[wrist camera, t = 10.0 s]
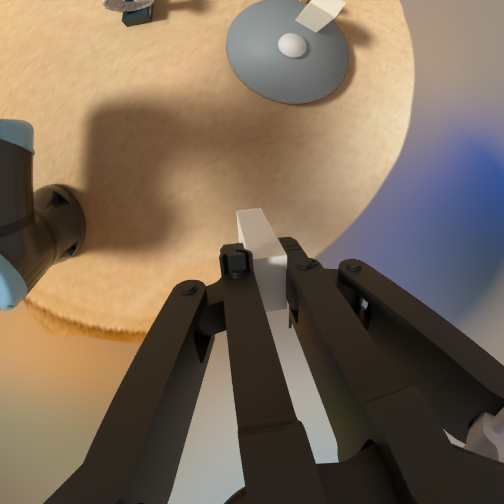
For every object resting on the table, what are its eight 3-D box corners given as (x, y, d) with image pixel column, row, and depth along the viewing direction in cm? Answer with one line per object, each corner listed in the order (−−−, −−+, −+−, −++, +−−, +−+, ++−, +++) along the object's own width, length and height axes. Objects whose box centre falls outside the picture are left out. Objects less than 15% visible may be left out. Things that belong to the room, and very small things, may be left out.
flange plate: (311, 126, 40) (334, 127, 32) (202, 67, 34) (198, 51, 26) (370, 32, 33) (398, 20, 24) (274, -26, 26) (287, -52, 18)
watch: (162, 20, 30) (149, -6, 20) (117, 29, 29) (94, 8, 19) (164, -4, 27) (153, -33, 18) (120, 5, 27) (99, -19, 17)
